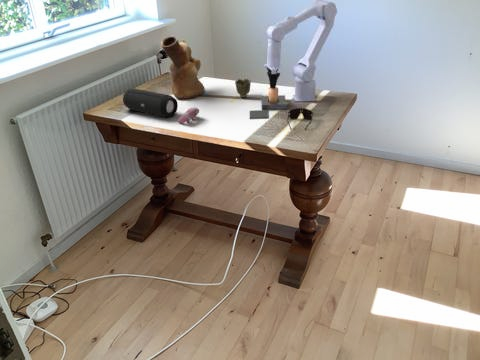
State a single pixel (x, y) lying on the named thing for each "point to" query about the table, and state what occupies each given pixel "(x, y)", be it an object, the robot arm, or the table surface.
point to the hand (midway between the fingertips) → (272, 85)
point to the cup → (243, 87)
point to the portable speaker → (150, 102)
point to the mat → (258, 114)
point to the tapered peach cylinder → (273, 94)
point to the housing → (273, 103)
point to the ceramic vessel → (183, 69)
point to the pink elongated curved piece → (188, 115)
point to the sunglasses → (296, 112)
